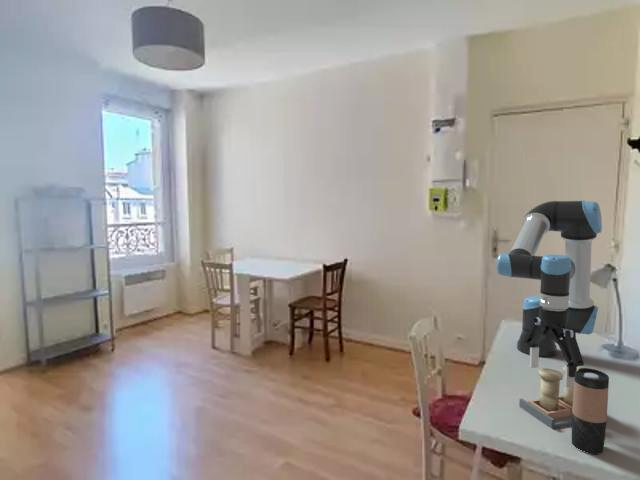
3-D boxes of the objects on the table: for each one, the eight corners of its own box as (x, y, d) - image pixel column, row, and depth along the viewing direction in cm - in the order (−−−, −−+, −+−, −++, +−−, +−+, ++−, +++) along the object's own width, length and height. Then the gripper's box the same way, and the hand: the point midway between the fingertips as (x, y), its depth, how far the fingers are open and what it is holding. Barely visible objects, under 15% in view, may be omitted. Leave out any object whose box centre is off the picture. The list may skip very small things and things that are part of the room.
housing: (519, 406, 132) (520, 366, 131) (568, 398, 137) (571, 360, 135) (551, 428, 120) (553, 384, 118) (604, 419, 124) (607, 376, 123)
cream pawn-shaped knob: (548, 405, 131) (551, 367, 130) (565, 415, 125) (568, 376, 124) (531, 407, 129) (533, 369, 128) (547, 417, 123) (550, 378, 122)
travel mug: (610, 456, 107) (615, 381, 104) (577, 453, 108) (582, 379, 106) (596, 439, 114) (600, 368, 112) (565, 436, 115) (569, 366, 113)
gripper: (513, 298, 135) (511, 361, 137) (579, 321, 111) (574, 397, 113) (533, 296, 136) (530, 358, 139) (601, 318, 112) (597, 393, 115)
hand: (550, 376), depth 126 cm, fingers open, 13 cm apart
